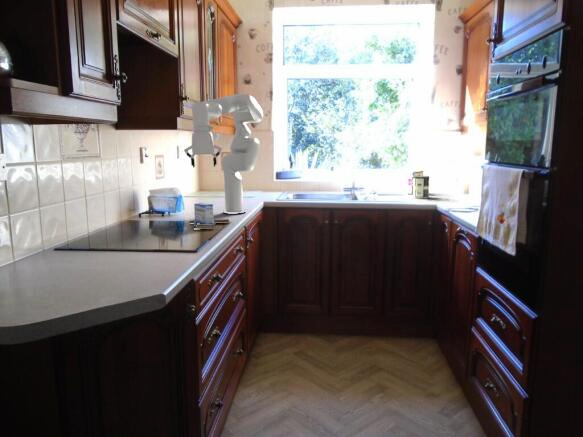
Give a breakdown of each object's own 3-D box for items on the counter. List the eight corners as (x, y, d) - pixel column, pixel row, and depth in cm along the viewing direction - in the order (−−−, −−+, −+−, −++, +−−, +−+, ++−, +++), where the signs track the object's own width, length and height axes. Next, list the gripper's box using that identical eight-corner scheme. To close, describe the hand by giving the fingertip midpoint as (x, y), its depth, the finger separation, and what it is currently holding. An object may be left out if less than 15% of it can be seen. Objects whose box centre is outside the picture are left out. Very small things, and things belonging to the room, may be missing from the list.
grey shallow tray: (195, 225, 207) (195, 220, 207) (214, 224, 208) (214, 220, 208) (193, 230, 194) (192, 226, 194) (214, 229, 196) (213, 225, 195)
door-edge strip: (190, 224, 208) (189, 220, 208) (229, 223, 211) (228, 219, 210) (189, 225, 207) (189, 220, 207) (229, 223, 210) (228, 219, 209)
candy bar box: (412, 194, 313) (413, 171, 310) (406, 194, 317) (407, 170, 314) (422, 193, 319) (423, 170, 317) (417, 192, 323) (417, 170, 321)
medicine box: (194, 222, 202) (193, 203, 200) (202, 221, 205) (201, 202, 204) (206, 224, 197) (205, 205, 196) (214, 223, 200) (213, 203, 199)
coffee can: (426, 196, 302) (426, 175, 300) (430, 198, 292) (431, 176, 289) (410, 196, 302) (411, 175, 300) (414, 198, 292) (415, 176, 290)
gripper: (220, 129, 213) (222, 165, 217) (183, 130, 211) (186, 166, 214) (220, 129, 206) (222, 166, 210) (182, 130, 203) (185, 168, 207)
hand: (204, 166), depth 212 cm, fingers open, 9 cm apart
